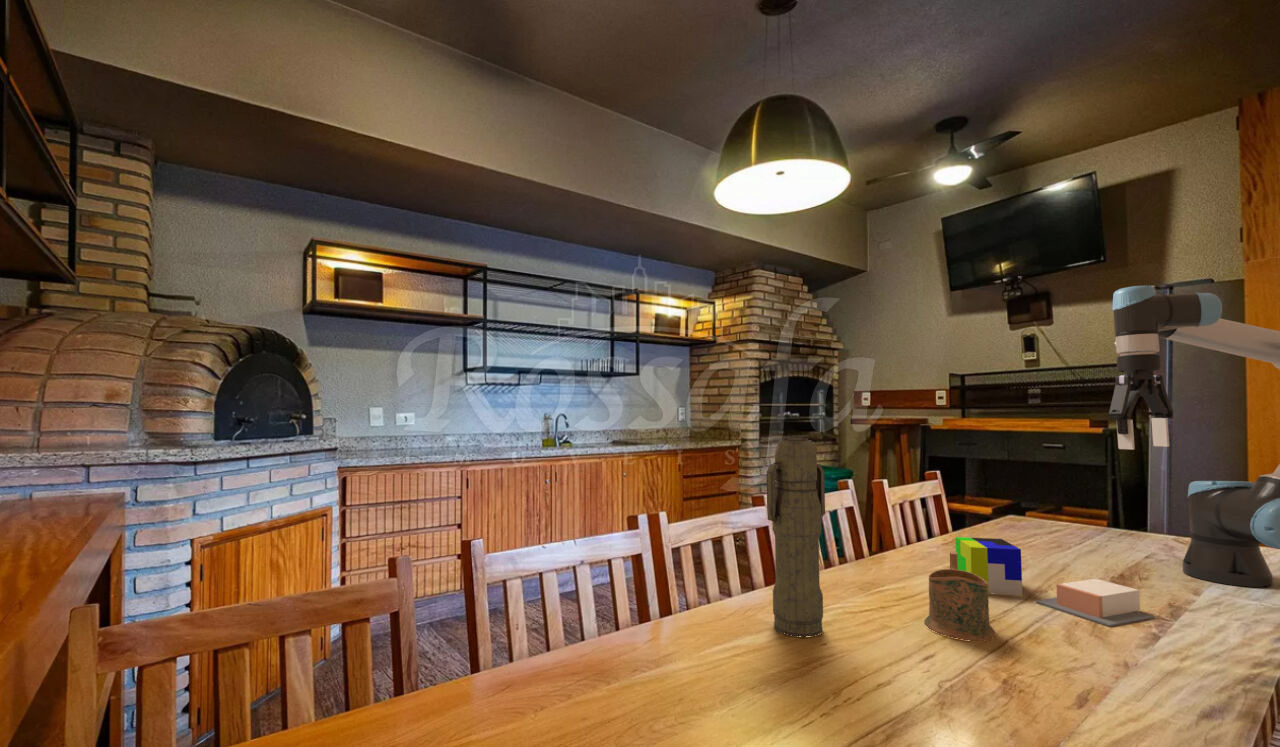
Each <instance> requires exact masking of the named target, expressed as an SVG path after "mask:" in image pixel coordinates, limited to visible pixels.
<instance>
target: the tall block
mask: <svg viewBox="0 0 1280 747" xmlns="http://www.w3.org/2000/svg"><path fill="white" fill-rule="evenodd" d="M1056 597H1057V604H1058V605H1061V606H1064V607H1067V608H1070V609H1073V610H1076V611H1080V612H1083V613H1086V614H1089V615H1092V616H1095V617H1098V618H1101V617H1107V616H1112V615H1118V614H1123V613H1129V612H1134V611H1138V612H1140V611H1141V602H1140V599H1141V598H1140V590H1139V589H1136V588H1132V587H1128V586H1125V585H1122V584H1118V583H1115V582H1111V581H1110V582H1109V581H1106V580H1103V579H1098V578H1092V579H1091V578H1090V579H1085V580H1077V581H1071V582H1065V583H1064V582H1063V583H1058V584H1056Z"/></svg>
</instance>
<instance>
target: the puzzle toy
mask: <svg viewBox="0 0 1280 747" xmlns="http://www.w3.org/2000/svg"><path fill="white" fill-rule="evenodd" d="M955 552H957V560H958V570H962V571H966V572H970V573H973V574H975V575H977V576H979V577H981V578H982V579H983V580H985V581H986V582H987V583H988V593H994V594H993V595H998V594H1009V595H1008V596H1015V595H1023V571H1022V570H1023V569H1022V568H1023V567H1022V549H1021V548H1019V547H1017V546H1015V545H1013V544H1012V543H1010V542H1008V541H1006V540H1005V539H1003V538H987V537H986V538H984V537H967V536H966V537H963V536H959V537H958V536H955Z"/></svg>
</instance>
